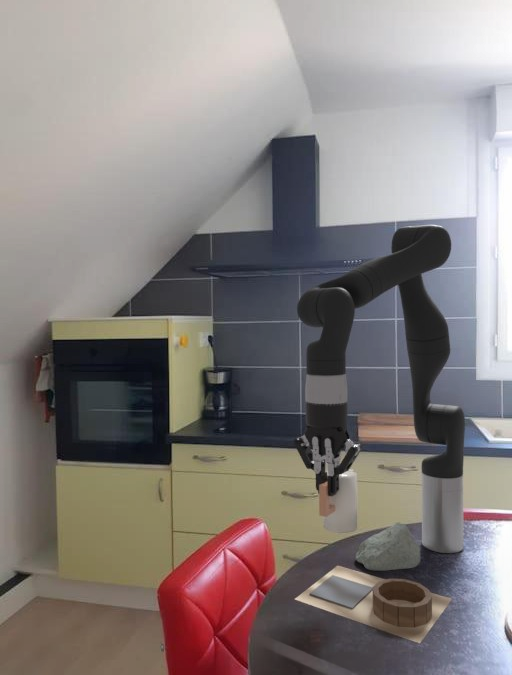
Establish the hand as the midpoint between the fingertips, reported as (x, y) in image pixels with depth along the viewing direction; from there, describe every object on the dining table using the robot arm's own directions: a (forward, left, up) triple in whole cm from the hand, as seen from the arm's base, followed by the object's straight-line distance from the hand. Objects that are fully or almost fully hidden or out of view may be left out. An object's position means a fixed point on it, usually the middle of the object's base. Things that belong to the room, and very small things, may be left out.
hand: (327, 493), depth 98 cm
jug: (-4, 0, -8) cm, 8 cm away
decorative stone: (-23, +2, -22) cm, 32 cm away
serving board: (-7, +6, -22) cm, 24 cm away
